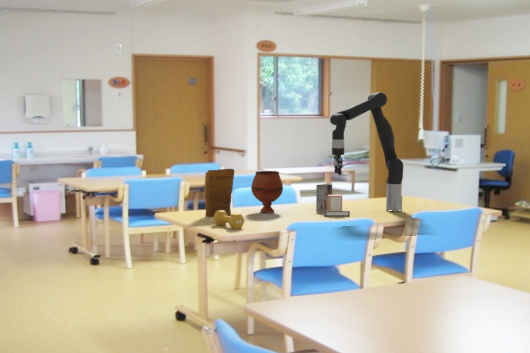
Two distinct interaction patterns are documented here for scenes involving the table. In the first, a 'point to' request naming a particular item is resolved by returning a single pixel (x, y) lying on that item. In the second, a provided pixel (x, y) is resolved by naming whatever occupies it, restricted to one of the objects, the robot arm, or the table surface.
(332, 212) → the shelf board
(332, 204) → the shelf carton
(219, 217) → the dumbbell
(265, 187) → the goblet
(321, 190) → the coffee box
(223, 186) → the pancake mix bag
